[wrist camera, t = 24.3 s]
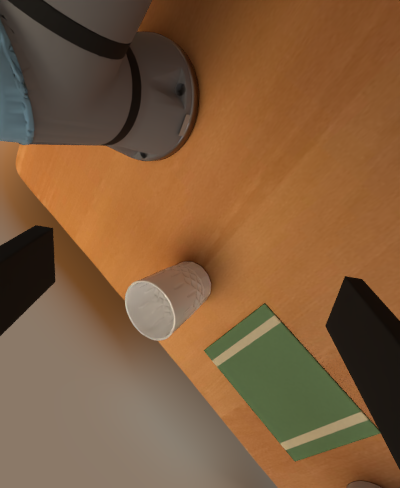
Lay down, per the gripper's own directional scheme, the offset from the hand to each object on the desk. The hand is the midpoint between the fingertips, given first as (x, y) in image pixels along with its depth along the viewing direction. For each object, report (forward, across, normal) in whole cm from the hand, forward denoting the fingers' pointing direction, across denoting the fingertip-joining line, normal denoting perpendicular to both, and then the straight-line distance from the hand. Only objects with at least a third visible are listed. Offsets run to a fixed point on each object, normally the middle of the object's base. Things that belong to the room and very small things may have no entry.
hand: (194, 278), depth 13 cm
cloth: (+19, +14, -25) cm, 35 cm away
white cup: (+27, 0, -16) cm, 31 cm away
